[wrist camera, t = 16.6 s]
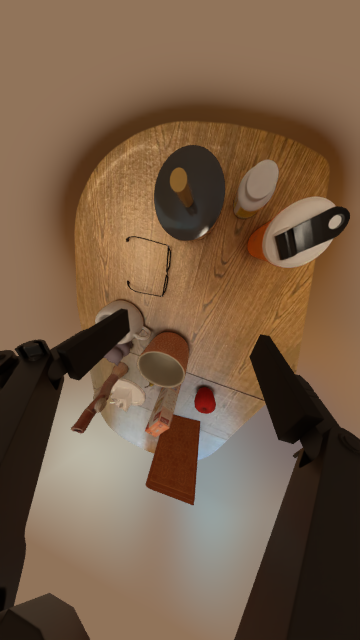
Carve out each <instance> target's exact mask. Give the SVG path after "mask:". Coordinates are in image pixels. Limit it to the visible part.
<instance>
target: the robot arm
mask: <svg viewBox="0 0 360 640" xmlns="http://www.w3.org/2000/svg"><path fill="white" fill-rule="evenodd" d="M129 332H130V325H129V316H128V310H127V309H122V308H121V309H119V310H118V311H116V312H114V313H113V314H111V315H110V316H108V317H106V318H105V319H103V320H102V321H100V322H98V323H97V324H95V325H94V326H92V327H90V328H89V329H86V330H83V331H80V332H79V333H77V334H75V336H72V337H71V338H70V339H67V340H66V341H64V342H62V343H61V344H59V345H58V346H56V347H54V348H52V349H51V350H50V349H49V348H48V346H47V344H46V342H45V341H44V340H33V341H29V342H26V343H23V344H21V345H19V346H18V347H17V348H15V350H16V352H17V353H18V355H19V356H16V355H15V353H14V352H13V351H11V350H4V351H0V640H90V638H89V636H88V635H87V632H86V631H85V629H84V627H83V625H82V623H81V621H80V619H79V617H78V615H77V613H76V612H75V609H74V608H73V607H72V606H70V605H69V604H67V603H65V602H64V601H62V600H60V599H59V598H57V597H56V596H54V595H52V594H51V593H48V594H46V595H43V596H40V597H38V598H35V599H32V600H30V601H27V602H25V603H22V604H19V605H16V606H14V602H15V598H16V594H17V590H18V586H19V582H20V577H21V573H22V569H23V565H24V559H25V552H26V543H25V537H24V535H25V526H26V522H27V518H28V515H29V510H30V507H31V503H32V499H33V496H34V492H35V488H36V485H37V481H38V477H39V473H40V469H41V465H42V462H43V458H44V454H45V450H46V447H47V443H48V439H49V435H50V432H51V427H52V423H53V420H54V417H55V413H56V409H57V405H58V401H59V398H60V394H61V390H62V386H63V382H64V375H65V374H66V373H68V375H69V377H70V378H73V379H76V380H80V379H81V378H82V377H83V376H84V375H85V374H86V373H87V372H88V371H90V370H91V369H92V368H93V367H94V366H95V365H96V364H97V363H98V362H99V361H100V360H101V359H102V358H103V357H104V356H105V355H106V354H107V353H108V352H109V351H110V350H111V349H112V348H113V347H114V346H115V345H117V344H118V343H119V342H120V341H121V340H122V339H123V338H124V337H125V336H126V335H127V334H128V333H129ZM250 359H251V362H252V365H253V368H254V371H255V374H256V377H257V380H258V382H259V385H260V388H261V391H262V394H263V397H264V400H265V403H266V405H267V408H268V411H269V414H270V417H271V420H272V423H273V426H274V429H275V431H276V434H277V437H278V440H281V441H285V442H288V443H291V444H294V443H295V442H297V441H298V440H299V439H300V442H301V444H302V446H303V448H302V449H300V450H299V451H298V452H296V453H295V454H294V455H293V457H294V458H296V457H298V458H297V461H296V464H295V467H294V469H293V472H292V475H291V478H290V481H289V484H288V487H287V490H286V493H285V496H284V498H283V501H282V504H281V507H280V510H279V513H278V515H277V518H276V521H275V524H274V527H273V530H272V533H271V536H270V539H269V541H268V544H267V547H266V550H265V553H264V556H263V559H262V562H261V565H260V567H259V570H258V573H257V576H256V579H255V582H254V584H253V588H252V590H251V593H250V596H249V599H248V602H247V605H246V607H245V610H244V613H243V616H242V619H241V622H240V625H239V628H238V631H237V634H236V637H235V639H234V640H360V439H359V438H357V437H356V436H355V435H353V434H352V433H350V432H349V431H347V430H345V429H343V428H341V427H340V426H339V425H338V424H337V422H336V421H335V419H334V418H333V416H332V415H331V414H330V412H329V411H328V409H327V408H326V407H325V405H324V404H323V403H322V401H321V400H320V399H319V397H318V396H317V394H316V393H315V392H314V390H313V389H312V387H311V386H310V385H309V383H308V382H306V381H305V380H304V379H303V378H302V377H301V376H300V375H296V374H294V372H293V371H292V369H291V368H290V366H289V365H288V363H287V362H286V360H285V359H284V357H283V356H282V354H281V353H280V351H279V350H278V348H277V347H276V345H275V344H274V342H273V341H272V339H271V338H270V336H266V335H261V334H260V336H259V338H258V340H257V342H256V344H255V347H254V349H253V351H252V353H251V355H250Z"/></svg>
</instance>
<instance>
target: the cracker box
mask: <svg viewBox="0 0 360 640" xmlns="http://www.w3.org/2000/svg"><path fill="white" fill-rule="evenodd" d="M180 385H181V384H180ZM180 385H178V386H176V387H172V388H165V387H162V389H161V392H160V394H159V397H158V399H157V402H156V404H155V407H154V409H153V412H152V415H151V417H150V420H149V422H148V425H147V427H146V430H145V431H146V432H147V433H149V434H151V435H153V436H155V437H157V436H158V435H160V434H161V433H163V432H164V431H166V430H167V429H169V428H170V424H171V420H172V416H173V413H174V409H175V405H176V401H177V397H178V393H179V389H180Z"/></svg>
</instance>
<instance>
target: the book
mask: <svg viewBox="0 0 360 640" xmlns="http://www.w3.org/2000/svg"><path fill="white" fill-rule="evenodd" d="M199 432H200V421H197V420H193V419H189V418H185V417H181V416H177V415H173V416H172V420H171V424H170V428H169V429H167V430H166V431H164V432H163V433H161V434H160V436H159V440H158V443H157V447H156V450H155V454H154V458H153V461H152V464H151V468H150V471H149V474H148V478H147V481H146V486H147V487H148V488H150V489H152V490H154V491H157V492H160V493H162V494H165V495H167V496H170V497H173V498H175V499H178V500H181V501H183V502H186V503H188V504H191V505H194V499H195V485H196V472H197V459H198V445H199Z"/></svg>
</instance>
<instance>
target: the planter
mask: <svg viewBox="0 0 360 640" xmlns="http://www.w3.org/2000/svg"><path fill="white" fill-rule="evenodd" d="M188 358H189V349H188V345H187V343H186V341H185V340H184V339H183V338H182V337H181V336H179V335H177V334H175V333H171V332H165V333H161V334H159V335H157V336H156V337H155V338H154V339H153V340H152V341H151V342H150V343H149V345H148V346H147V347H146V349H145V350H144V351H143V353H142V354H141V355H140V357H139V358H138V361H137V366H138V370H139V372H140V373H141V375H142V376H143V377H144V378H145V379H146V380H148V381H149V382H151V383H152V384H154V385H157V386H160V387H165V388H172V387H176V386H178V385H180V384H181V383H182V382H183V381H184V378H185V374H186V369H187V364H188Z"/></svg>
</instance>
